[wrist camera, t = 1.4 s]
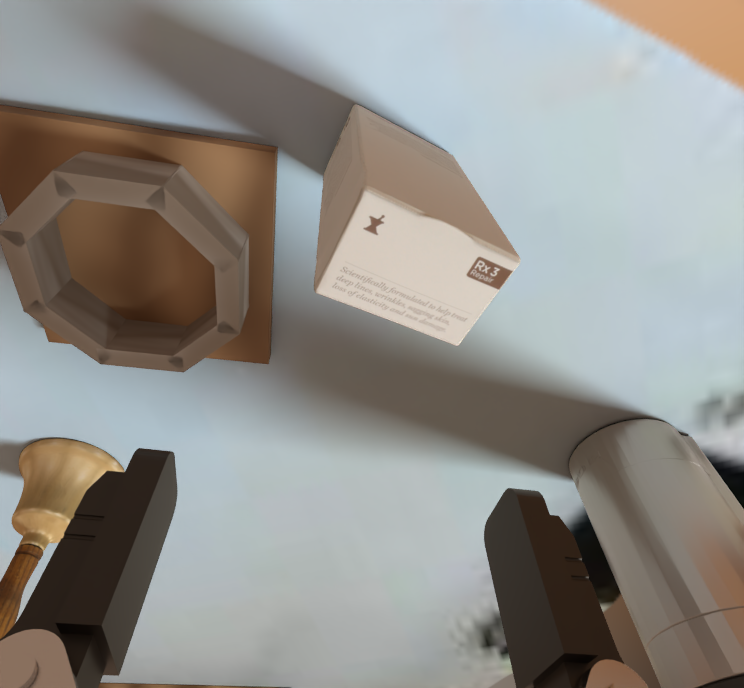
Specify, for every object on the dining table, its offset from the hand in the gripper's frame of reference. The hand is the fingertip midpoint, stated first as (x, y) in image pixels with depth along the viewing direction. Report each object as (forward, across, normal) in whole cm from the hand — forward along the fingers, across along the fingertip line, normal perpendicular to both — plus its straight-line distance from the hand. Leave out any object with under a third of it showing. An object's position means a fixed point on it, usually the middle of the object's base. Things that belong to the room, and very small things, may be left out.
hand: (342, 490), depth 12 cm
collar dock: (+19, +11, +5) cm, 22 cm away
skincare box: (+19, -2, -2) cm, 19 cm away
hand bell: (+19, +19, +28) cm, 39 cm away
